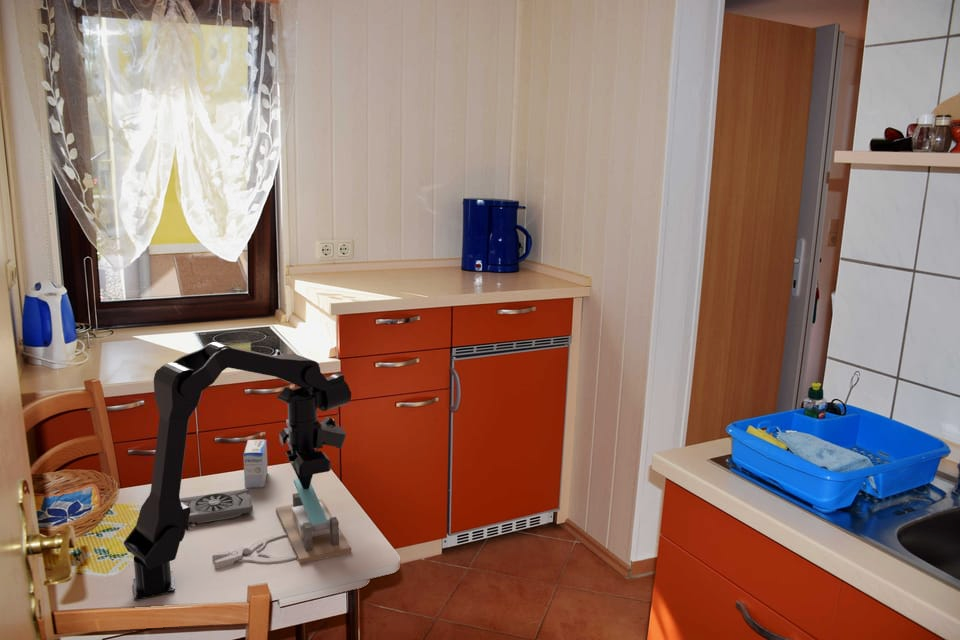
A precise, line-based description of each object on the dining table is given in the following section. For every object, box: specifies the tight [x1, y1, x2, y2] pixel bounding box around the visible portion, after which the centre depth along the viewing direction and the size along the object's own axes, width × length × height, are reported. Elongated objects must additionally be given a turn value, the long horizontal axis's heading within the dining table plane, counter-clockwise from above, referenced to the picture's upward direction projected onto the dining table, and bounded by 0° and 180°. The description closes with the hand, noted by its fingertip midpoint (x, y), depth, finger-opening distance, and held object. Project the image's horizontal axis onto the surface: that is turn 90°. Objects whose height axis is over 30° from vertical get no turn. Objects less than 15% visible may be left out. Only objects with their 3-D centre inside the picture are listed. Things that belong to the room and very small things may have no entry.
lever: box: [293, 477, 330, 532], centre depth 150 cm, size 17×3×1 cm, turn 26°
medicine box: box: [243, 439, 268, 489], centre depth 173 cm, size 8×4×9 cm, turn 10°
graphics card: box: [180, 488, 254, 527], centre depth 157 cm, size 17×4×12 cm
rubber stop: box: [292, 492, 303, 507], centre depth 158 cm, size 2×4×5 cm, turn 116°
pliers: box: [212, 532, 297, 569], centre depth 143 cm, size 10×2×15 cm
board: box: [275, 498, 352, 565], centre depth 151 cm, size 22×10×6 cm, turn 26°
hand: (305, 487), depth 154 cm, fingers closed
